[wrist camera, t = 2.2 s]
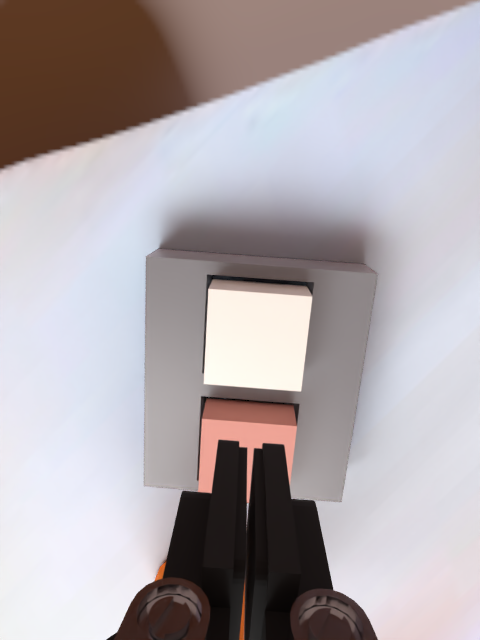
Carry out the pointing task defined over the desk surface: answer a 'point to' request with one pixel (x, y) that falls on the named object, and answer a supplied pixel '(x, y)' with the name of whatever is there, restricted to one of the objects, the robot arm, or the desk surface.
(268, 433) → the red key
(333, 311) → the key panel
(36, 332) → the desk surface
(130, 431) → the desk surface
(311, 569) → the robot arm
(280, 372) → the white key
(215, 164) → the desk surface
